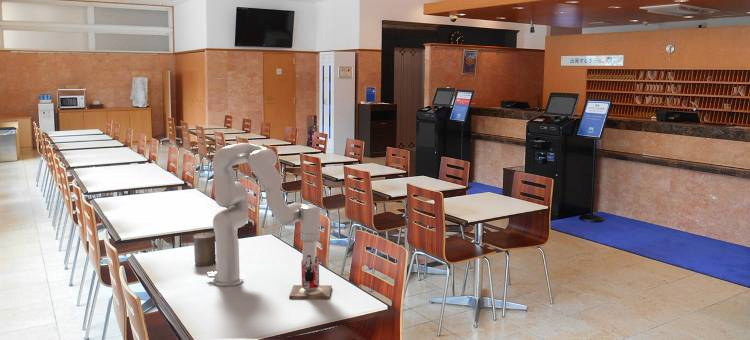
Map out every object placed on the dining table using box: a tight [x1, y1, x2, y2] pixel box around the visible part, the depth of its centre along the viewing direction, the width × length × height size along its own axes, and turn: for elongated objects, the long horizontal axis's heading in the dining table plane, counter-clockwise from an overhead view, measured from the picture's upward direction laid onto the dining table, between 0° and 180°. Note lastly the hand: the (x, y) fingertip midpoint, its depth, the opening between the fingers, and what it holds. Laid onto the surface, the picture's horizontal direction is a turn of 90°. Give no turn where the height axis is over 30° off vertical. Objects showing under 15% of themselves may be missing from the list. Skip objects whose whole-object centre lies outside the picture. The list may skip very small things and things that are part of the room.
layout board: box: [288, 284, 333, 300], centre depth 264 cm, size 16×13×1 cm
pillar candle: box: [193, 232, 217, 267], centre depth 302 cm, size 10×10×15 cm
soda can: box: [300, 255, 320, 290], centre depth 262 cm, size 7×7×13 cm
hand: (310, 277), depth 263 cm, fingers closed on soda can, 7 cm apart
